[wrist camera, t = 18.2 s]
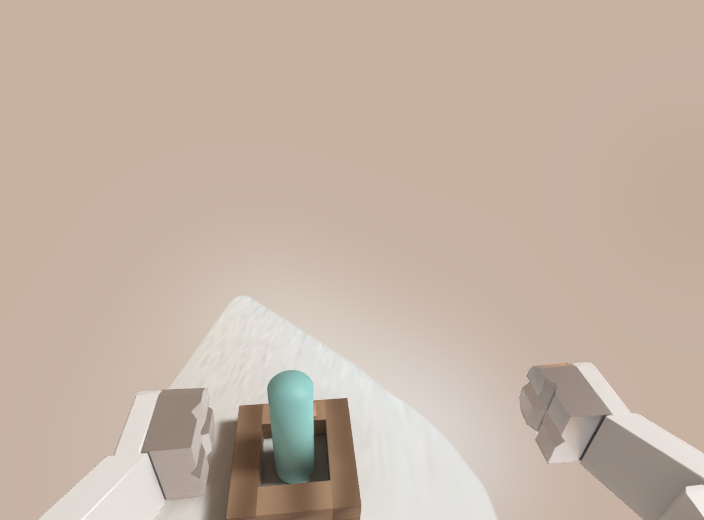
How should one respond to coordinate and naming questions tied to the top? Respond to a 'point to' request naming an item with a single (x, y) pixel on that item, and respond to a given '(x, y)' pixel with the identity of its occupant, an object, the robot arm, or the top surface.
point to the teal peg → (292, 425)
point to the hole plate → (302, 498)
